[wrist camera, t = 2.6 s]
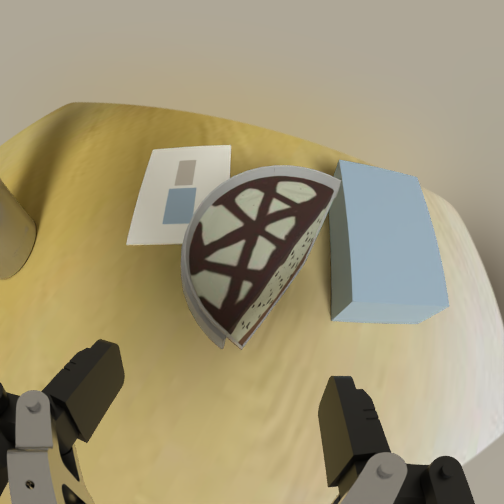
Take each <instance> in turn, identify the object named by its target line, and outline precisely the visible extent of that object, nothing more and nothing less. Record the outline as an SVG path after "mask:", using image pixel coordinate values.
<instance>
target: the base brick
mask: <svg viewBox="0 0 504 504" xmlns="http://www.w3.org/2000/svg"><path fill="white" fill-rule="evenodd" d="M333 177H335V178H337V179H339V180H341V183H340V187H339V190H338V193H337V196H336V198H334V200H333V202H332V204H331V207H330V209H329V224H330V245H331V292H332V300H331V321H343V322H362V323H391V324H418V323H420V322H422V321H424V320H426V319H428V318H430V317H431V316H433V315H435V314H437V313H439V312H440V311H442V310H444V309H445V308H447V307H449V301H448V294H447V288H446V282H445V276H444V271H443V266H442V261H441V257H440V252H439V248H438V244H437V240H436V236H435V232H434V228H433V225H432V221H431V218H430V215H429V211H428V208H427V205H426V202H425V199H424V196H423V193H422V190H421V187H420V184H419V182H418V179H417V177H414V176H410V175H407V174H403V173H399V172H394V171H391V170H386V169H382V168H378V167H373V166H369V165H364V164H359V163H354V162H349V161H344V160H339V162H338V164H337V167H336V170H335V173H334V176H333Z"/></svg>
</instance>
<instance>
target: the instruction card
mask: <svg viewBox="0 0 504 504" xmlns="http://www.w3.org/2000/svg"><path fill="white" fill-rule="evenodd" d="M230 161H231V145H216V146H194V147H178V148H166V149H155V150H153V152H152V154H151V157H150V160H149V163H148V166H147V169H146V173H145V176H144V179H143V182H142V186H141V189H140V192H139V196H138V199H137V203H136V207H135V210H134V214H133V218H132V222H131V226H130V230H129V234H128V239H127V243H126V245H169V244H183V240H184V235H185V232H186V230H187V227H188V225H189V223H190V220H191V218H192V217H193V214H194V213H195V211H196V210H197V208H198V207H199V205H200V204H201V202H202V201H203V200H204V199H205V198H206V197H207V195H208V194H209V193H210V192H211V191H212V190H214V189H215V188H216V187H218V186H219V185H220V184H221V183H223V182H225V181H226V180H228V179H230Z"/></svg>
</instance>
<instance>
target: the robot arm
mask: <svg viewBox="0 0 504 504" xmlns="http://www.w3.org/2000/svg"><path fill="white" fill-rule="evenodd" d="M35 237H36V225H35V223H34V221H33V219H32V218H31V217H30V216H29V215H28V214H27V212H26V211H25V210H24V209H23V207H22V206H21V205H20V204H19V203H18V201H17V200H16V199H15V197H14V196H13V195H12V193H11V192H10V191H9V190H8V188H7V187H6V186H5V184H4V183H3V182H2V180H1V179H0V279H7V278H10V277H11V276H13V275H14V274H15V273H16V272H17V271H18V270H19V269H20V268H21V267H22V266H23V264H24V263H25V261H26V260H27V258H28V256H29V254H30V252H31V250H32V247H33V245H34V241H35ZM124 376H125V375H124V369H123V364H122V360H121V355H120V350H119V346H118V345H117V344H115V343H112V342H108V341H105V340H102V339H99V340H98V341H96V343H95V344H94V345H93V346H92V347H91V348H86V349H84V350H82V351H80V352H78V353H77V354H76V355H75V356H74V357H73V358H72V359H71V360H70V362H68V363H67V364H66V365H65V366H64V369H62V370H61V371H60V372H59V373H58V374H57V375H56V376H55V377H54V378H53V379H52V380H51V382H50V383H49V384H48V385H47V386H46V387H45V388H44V389H43V390H42V391H41V392H40V391H36V390H32V391H27V392H25V393H23V394H22V395H21V396H18V395H14V394H10V393H7V392H6V391H5V390H4V388H3V386H2V384H1V383H0V496H1V494H2V492H3V490H4V488H5V487H6V485H7V483H8V481H9V488H10V495H11V501H12V504H95V503H94V501H93V499H92V497H91V495H90V493H89V492H88V490H87V488H86V486H85V483H84V480H83V476H82V472H81V469H80V464H79V460H78V456H77V451H76V447H75V444H74V442H75V441H76V439H77V438H78V439H80V440H82V441H84V442H86V443H88V441H89V439H90V438H91V436H92V434H93V433H94V431H95V429H96V428H97V426H98V424H99V423H100V421H101V419H102V418H103V416H104V415H105V413H106V411H107V410H108V408H109V407H110V405H111V403H112V402H113V400H114V399H115V397H116V395H117V394H118V392H119V391H120V389H121V388H122V386H123V383H124ZM318 418H319V425H320V432H321V438H322V445H323V452H324V460H325V467H326V475H327V483H328V487H336V486H338V488H339V494H338V495H337V496H336V498H335V499H334V500H333V502H332V503H331V504H475V503H474V500H473V497H472V494H471V491H470V488H469V485H468V482H467V480H466V477H465V474H464V472H463V469H462V466H461V464H460V463H459V462H458V461H457V460H456V459H455V458H453V457H450V456H441V457H438V458H437V459H435V460H434V461H433V462H432V463H431V464H430V465H414V464H406V463H405V461H404V460H403V459H402V458H401V457H400V456H398V455H396V454H394V453H391V451H390V449H389V446H388V443H387V440H386V437H385V434H384V431H383V428H382V426H381V423H380V420H379V419H378V415H377V412H376V411H375V407H374V404H373V401H372V399H371V397H370V396H369V395H368V394H367V393H366V392H365V391H364V390H363V389H356V387H355V384H354V381H353V379H352V377H351V376H331V377H330V378H329V380H328V383H327V386H326V389H325V391H324V394H323V397H322V399H321V402H320V405H319V411H318Z"/></svg>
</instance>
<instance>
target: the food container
mask: <svg viewBox="0 0 504 504" xmlns="http://www.w3.org/2000/svg"><path fill="white" fill-rule="evenodd" d="M340 183H341V180H339V179H337V178H335V177H333V176H331V175H329V174H326V173H323V172H320V171H317V170H314V169H309V168H305V167H298V166H289V165H276V166H267V167H260V168H256V169H252V170H248V171H245V172H243V173H240V174H238V175H235V176H233V177H231V178H230V179H228V180H226V181H225V182H223V183H221V184H220V185H219V186H218V187H216V188H215V189H214V190H212V191H211V192H210V193H209V194H208V195H207V197H206V198H205V199H204V200H203V201H202V202H201V204H200V205H199V207H198V208H197V210H196V211H195V213H194V214H193V217H192V218H191V220H190V223H189V225H188V227H187V230H186V232H185V235H184V240H183V244H182V250H181V279H182V286H183V292H184V295H185V298H186V301H187V304H188V307H189V309H190V311H191V313H192V315H193V317H194V318H195V320H196V322H197V324H198V325H199V326H200V328H201V329H202V330H203V331H204V333H205V334H206V335H207V336H208V338H209V339H211V340H212V341H213V342H214V343H215V344H216V345H217V346H218V347H219V348H221V349H223V348H224V344H225V339H226V338H228V339H229V340H231V341H232V342H233V343H234V344H235V345H236V346H237V347H239V348H240V349H241V350H242V348H243V347H244V346H245V345H246V343H247V342H248V341H249V339H250V338H251V337H252V335H253V334H254V333H255V331H256V330H257V329H258V328H259V326H260V325H261V324H262V322H263V321H264V320H265V318H266V317H267V316H268V314H269V313H270V311H271V310H272V309H273V307H274V306H275V305H276V303H277V302H278V301H279V299H280V298H281V296H282V295H283V294H284V292H285V291H286V290H287V288H288V287H289V285H290V284H291V283H292V281H293V280H294V278H295V277H296V275H297V274H298V273H299V271H300V270H301V268H302V267H303V265H304V264H305V262H306V260H307V257H308V255H309V253H310V251H311V249H312V247H313V245H314V242H315V240H316V238H317V236H318V234H319V231H320V229H321V227H322V225H323V222H324V220H325V218H326V216H327V213H328V211H329V209H330V207H331V204H332V202H333V200H334V198H336V196H337V193H338V190H339V187H340Z"/></svg>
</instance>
